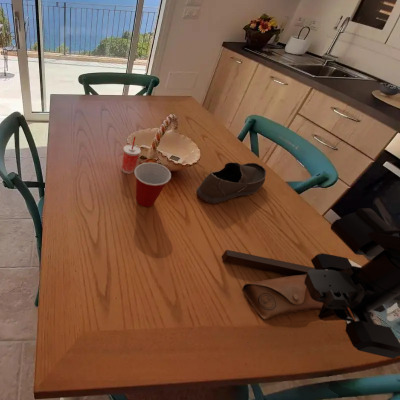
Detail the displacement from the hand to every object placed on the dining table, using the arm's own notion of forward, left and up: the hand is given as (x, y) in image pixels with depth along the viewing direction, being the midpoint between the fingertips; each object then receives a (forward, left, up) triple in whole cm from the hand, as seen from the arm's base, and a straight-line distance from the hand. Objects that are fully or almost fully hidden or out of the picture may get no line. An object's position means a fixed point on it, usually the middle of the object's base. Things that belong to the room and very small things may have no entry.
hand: (321, 318), depth 55 cm
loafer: (+48, +7, -6) cm, 49 cm away
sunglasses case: (+7, +2, -6) cm, 10 cm away
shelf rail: (+15, +2, -6) cm, 17 cm away
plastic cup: (+33, +37, -6) cm, 50 cm away
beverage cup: (+49, +44, -6) cm, 66 cm away
